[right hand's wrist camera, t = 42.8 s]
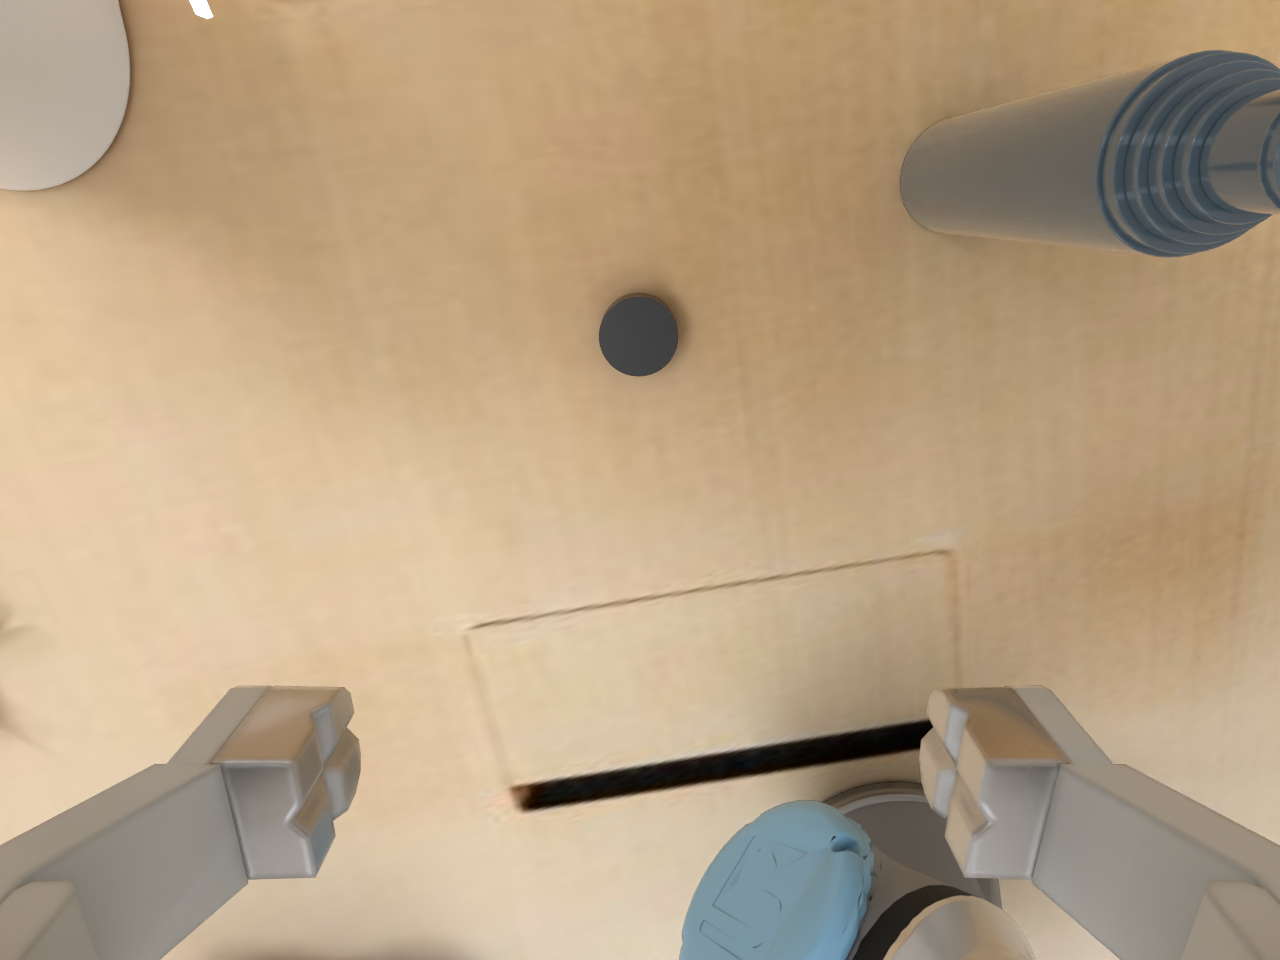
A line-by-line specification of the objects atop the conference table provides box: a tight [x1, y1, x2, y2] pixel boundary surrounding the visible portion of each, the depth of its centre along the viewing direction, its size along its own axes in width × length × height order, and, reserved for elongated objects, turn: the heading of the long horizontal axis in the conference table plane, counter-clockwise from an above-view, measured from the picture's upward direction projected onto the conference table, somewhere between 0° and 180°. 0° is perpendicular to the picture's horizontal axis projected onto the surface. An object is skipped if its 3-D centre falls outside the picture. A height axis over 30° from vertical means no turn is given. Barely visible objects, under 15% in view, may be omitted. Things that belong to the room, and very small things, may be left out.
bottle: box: [900, 50, 1280, 257], centre depth 29 cm, size 6×6×24 cm
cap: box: [599, 293, 678, 376], centre depth 42 cm, size 4×4×2 cm
